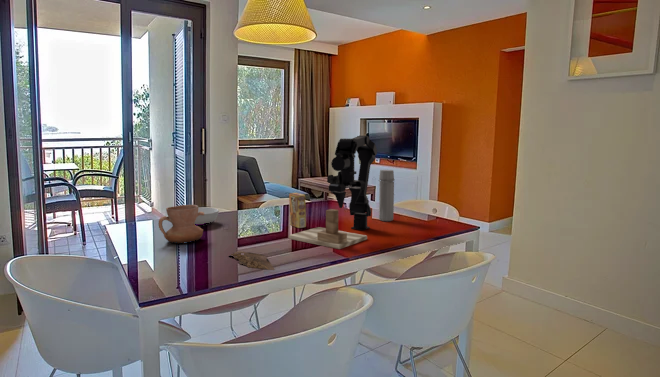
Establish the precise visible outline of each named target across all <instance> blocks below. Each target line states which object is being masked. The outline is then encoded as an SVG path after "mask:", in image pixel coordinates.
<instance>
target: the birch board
mask: <svg viewBox="0 0 660 377" xmlns="http://www.w3.org/2000/svg"><path fill="white" fill-rule="evenodd" d="M323 230H326V227H321V226H317V227H314V228H310V229H306V230H303V231H302V230H301V231H299V232H296V233H292V234H289V235H288V238H289V240H293V241H298V242H303V243H308V244H312V245H318V246H323V247H327V248H331V249H336V250H341V249H344V248H346V247H347V248H348V247H349V246H352V245H355V244H358V243H360V242H361V243H362V242H363V241H366V240H368V235H366V234H359V233H356V232H347V231H345V230H344V231H343V230H338V232H344V233H347V241H344V242H341V243H338V244H337V243H332V242H327V241H322V240H317V232H320V231H323Z"/></svg>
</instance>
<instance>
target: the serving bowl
mask: <svg viewBox="0 0 660 377" xmlns="http://www.w3.org/2000/svg"><path fill="white" fill-rule="evenodd" d="M198 212H204V215H199V216H198V217H197V218H196V220H195V223H194V224H204V223H209V224H211V223H213V222H215V221H216V219H217V218H218V216H219V213H220V212H219V209H218V208H216V207H208V206H198ZM210 222H211V223H210Z"/></svg>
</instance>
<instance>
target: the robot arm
mask: <svg viewBox="0 0 660 377" xmlns="http://www.w3.org/2000/svg"><path fill="white" fill-rule="evenodd" d="M356 154H357V156H358V160H359V162H360V163H359V169H358V170H359V171H358V176H357V179H355V175H356V174H357V171H355V158H356ZM377 154H378V149H377V146H376V143H375V142H373V141H372V140H371V138H370V137H369V135H357V136H354V137H353V138H340V139H339V140H338V142H337V144H336V148H335V151H334V156H335V157H333V159H332V160H331V163H330V165H331V168H332V169H333V170H334V171H336V172H337V175H334V174H329V175H327V177H326V182H327V183H328V184H329V185H328V192H330V193H332V194H333V195H334V196H335V199H336V200H337V201H336V202H337V204H338V207H339V208H340V209H342V208H343V207H344V206H343V205H344V201H345V198H346V193H347V192H346V189H348V190H349V191H350V194H351V195H350V202H349V205H348V209H349V216H353V226H351V227H350V228H351V230H352V229H353V230H358V231H365V230H368V229H371V227H370V226H368V217H371V216H372V209H371V206H370V201H369V198H368V196H367V192H368V191H367V190H368V185H369V178H370V172H371V171H370V170H371V165H372V164H373V163H374V162H375V160H376V156H377Z"/></svg>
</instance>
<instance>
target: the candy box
mask: <svg viewBox="0 0 660 377" xmlns="http://www.w3.org/2000/svg"><path fill="white" fill-rule="evenodd" d="M288 194H289V196H288V197H289V198H288V200H289V225H290V226H292V227H295V228H298V229H302V228H306V227H307V220H306V218H307V216H306V215H307V214H306V209H307V208H306V194H303V193H300V192H290V193H288Z"/></svg>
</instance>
